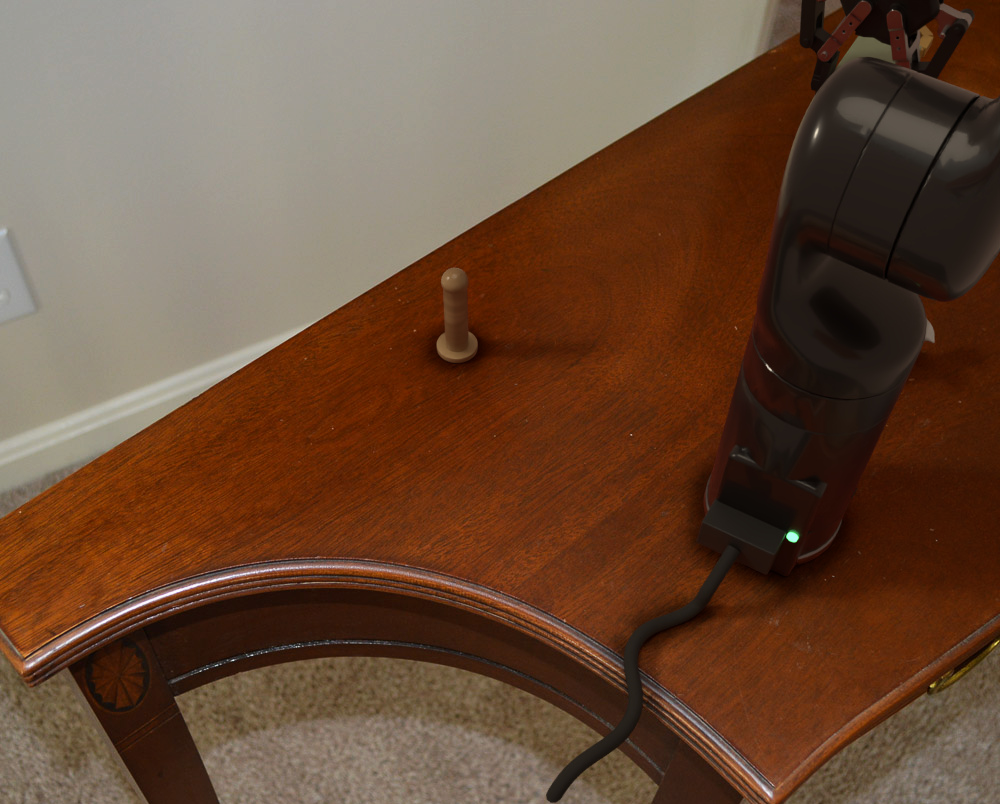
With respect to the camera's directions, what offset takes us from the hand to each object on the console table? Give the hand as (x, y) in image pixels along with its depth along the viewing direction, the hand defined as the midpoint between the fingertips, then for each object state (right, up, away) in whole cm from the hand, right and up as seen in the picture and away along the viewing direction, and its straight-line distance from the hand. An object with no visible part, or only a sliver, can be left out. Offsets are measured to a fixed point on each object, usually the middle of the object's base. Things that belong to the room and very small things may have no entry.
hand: (854, 104), depth 96 cm
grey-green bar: (+3, +3, +4) cm, 6 cm away
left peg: (-35, -23, -11) cm, 43 cm away
